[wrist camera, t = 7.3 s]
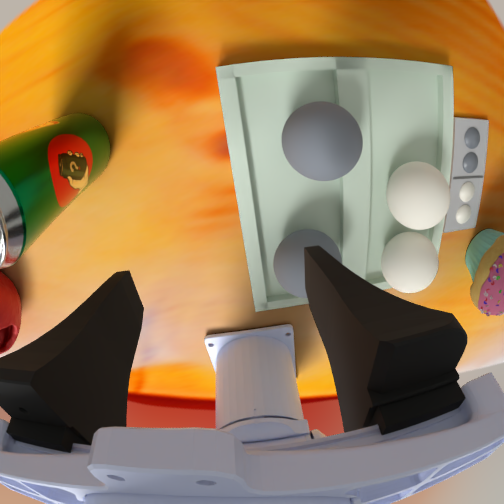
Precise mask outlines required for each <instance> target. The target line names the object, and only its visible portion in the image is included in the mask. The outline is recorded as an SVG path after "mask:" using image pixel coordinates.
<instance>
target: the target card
mask: <svg viewBox="0 0 504 504" xmlns="http://www.w3.org/2000/svg"><path fill="white" fill-rule="evenodd" d="M488 126H489V120H484V119H474V118H462V117H454V121H453V146H452V161H451V173H450V182H449V189H450V205H449V209H448V211H447V213H446V215H445V220H444V226H443V233H446V232H452V231H458V230H464V229H470V228H475V227H476V222H477V217H478V212H479V206H480V200H481V194H482V187H483V180H484V173H485V164H486V154H487V142H488Z"/></svg>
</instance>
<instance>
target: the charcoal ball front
mask: <svg viewBox="0 0 504 504" xmlns="http://www.w3.org/2000/svg"><path fill="white" fill-rule="evenodd" d="M362 147H363V138H362V133H361V130H360V127H359V125H358V123H357V121H356V120H355V118H354V117H353V116H352V115H351V114H350V113H349V112H348V111H347V110H345V109H344V108H343V107H341V106H339V105H337V104H334V103H331V102H324V101H318V102H311V103H307V104H305V105H303V106H301V107H299V108H298V109H296V110H295V111H294V112H293V113H292V114H291V115H290V116H289V118H288V119H287V121H286V123H285V125H284V128H283V131H282V148H283V152H284V155H285V157H286V159H287V161H288V162H289V164H290V165H291V166H292V167H293V168H294V169H295V170H296V171H297V172H298V173H300V174H301V175H303V176H305V177H307V178H309V179H312V180H317V181H330V180H335V179H338V178H340V177H342V176H344V175H346V174H347V173H349V172H350V171H351V170H352V169H353V168H354V167H355V165H356V164H357V162H358V160H359V158H360V156H361V153H362Z"/></svg>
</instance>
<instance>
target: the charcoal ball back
mask: <svg viewBox="0 0 504 504" xmlns="http://www.w3.org/2000/svg"><path fill="white" fill-rule="evenodd" d="M317 245H319V246H320V247H322V248H323V249H324V250H325V251H327V252H328V253H329V254H330V255H331V256H333V257H334V258H335V259H336V260H338V261H339V262H340V263H341V264H342V258H341V253H340V251H339V248H338V246H337V245H336V243H335V242H334V241H333V240H332V239H331V238H330V237H329V236H328V235H326V234H325V233H323V232H320V231H318V230H313V229H302V230H298V231H295V232H293V233H291V234H289V235H288V236H287V237H285V238H284V239H283V240H282V241H281V243H280V244H279V246H278V247H277V249H276V252H275V255H274V261H273V267H274V273H275V276H276V278H277V280H278V282H279V284H280V285H281V286H282V287H283V288H284V289H285V290H286V291H287V292H289V293H290V294H292V295H294V296H297V297H300V298H307V294H306V290H305V264H304V247H310V246H317Z"/></svg>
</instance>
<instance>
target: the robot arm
mask: <svg viewBox="0 0 504 504" xmlns="http://www.w3.org/2000/svg"><path fill="white" fill-rule="evenodd" d="M304 264H305V290H306V294H307V298H308V302H309V306H310V310H311V312H312V315H313V318H314V320H315V323H316V325H317V328H318V331H319V333H320V336H321V338H322V341H323V343H324V346H325V349H326V352H327V355H328V358H329V361H330V365H331V369H332V373H333V378H334V382H335V386H336V391H337V395H338V400H339V405H340V410H341V416H342V421H343V427H344V433H341V434H337V435H332V436H327V437H326V436H325V435H324V434H323V433H321V432H320V431H319V430H316V429H315V430H312V431H309V426H308V421H307V420H306V419H305V420H304V418H303V413H302V408H301V403H300V398H299V393H298V388H297V383H296V366H295V348H294V332H293V326H292V325H290V324H285V325H279V326H272V327H266V328H259V329H252V330H245V331H237V332H229V333H221V334H213V335H207V336H205V338H204V342H205V345H206V348H207V350H208V353H209V356H210V359H211V362H212V364H213V367H214V370H215V373H216V429H211V428H196V427H195V428H136V427H126V414H127V396H128V386H129V378H130V372H131V368H132V364H133V359H134V355H135V352H136V348H137V344H138V340H139V336H140V332H141V327H142V320H143V310H144V307H143V305H142V302H141V300H140V297H139V295H138V292H137V290H136V287H135V284H134V282H133V279H132V277H131V274H130V271H121V272H116V273H115V274H113V275H112V276H111V277H110V278H109V279H108V280H107V281H105V282H104V283H103V284H102V285H101V286H100V287H99V288H98V289H97V290H96V291H95V292H94V293H93V294H92V295H91V296H90V297H89V298H88V299H87V300H86V301H85V302H84V303H82V304H81V305H80V306H79V307H78V308H77V309H76V310H75V311H74V312H73V313H72V314H70V315H69V316H68V317H67V318H66V319H64V320H63V321H62V322H61V323H59V324H58V325H57V326H55V327H54V328H53V329H51V330H50V331H48V332H47V333H45V334H44V335H42V336H41V337H39V338H38V339H36V340H35V341H33V342H31V343H30V344H28V345H26V346H24V347H22V348H21V349H19V350H17V351H15V352H12V353H10V354H8V355H6V356H3V357H1V358H0V406H1V407H2V408H3V409H4V410H5V411H6V412H7V413H8V414H9V415H10V416H11V420H10V423H8V422H7V421H5V420H3V419H0V483H1V484H2V485H4V486H6V487H7V488H9V489H11V490H14V491H16V492H18V493H21V494H23V495H26V496H28V497H31V498H33V499H36V500H38V501H41V502H44V503H46V504H391V503H393V502H396V501H399V500H401V499H404V498H406V497H409V496H411V495H413V494H416V493H418V492H420V491H423V490H425V489H427V488H429V487H431V486H433V485H435V484H437V483H440V482H442V481H444V480H446V479H448V478H450V477H452V476H454V475H456V474H458V473H460V472H462V471H464V470H466V469H467V468H469V467H471V466H473V465H475V464H477V463H479V462H480V461H482V460H484V459H486V458H487V457H489V456H490V455H491V454H492V453H493V452H494V451H495V450H496V449H497V448H499V447H500V446H501V445H502V444H503V443H504V393H503V391H502V389H501V388H500V386H499V384H498V383H497V381H496V379H495V378H494V376H493V374H492V373H488V374H485V375H483V376H481V377H478V378H476V379H474V380H471V381H469V382H468V383H466V384H465V385H463V386H462V387H461V388H460V387H459V385H458V383H457V380H458V379H459V374H458V373H457V371H456V369H455V368H456V366H457V364H458V362H459V360H460V358H461V356H462V354H463V352H464V350H465V347H466V345H467V334H466V332H465V330H464V329H463V328H462V326H461V325H460V323H459V322H458V321H457V319H456V318H455V316H454V315H453V314H452V313H447V312H443V311H439V310H434V309H430V308H427V307H423V306H420V305H417V304H414V303H411V302H409V301H406V300H403V299H401V298H399V297H396V296H394V295H392V294H390V293H388V292H385V291H383V290H382V289H380V288H378V287H376V286H374V285H372V284H371V283H369V282H367V281H366V280H364V279H363V278H361V277H360V276H358V275H357V274H355V273H354V272H352V271H351V270H349V269H348V268H347V267H345V266H344V265H343V264H341V263H340V262H339V261H338V260H336V259H335V258H334V257H333V256H331V255H330V254H329V253H328V252H327V251H325V250H324V249H323V248H322V247H320V246H319V245H317V246H310V247H304ZM287 333H288V334H287ZM210 343H212V344H210Z"/></svg>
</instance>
